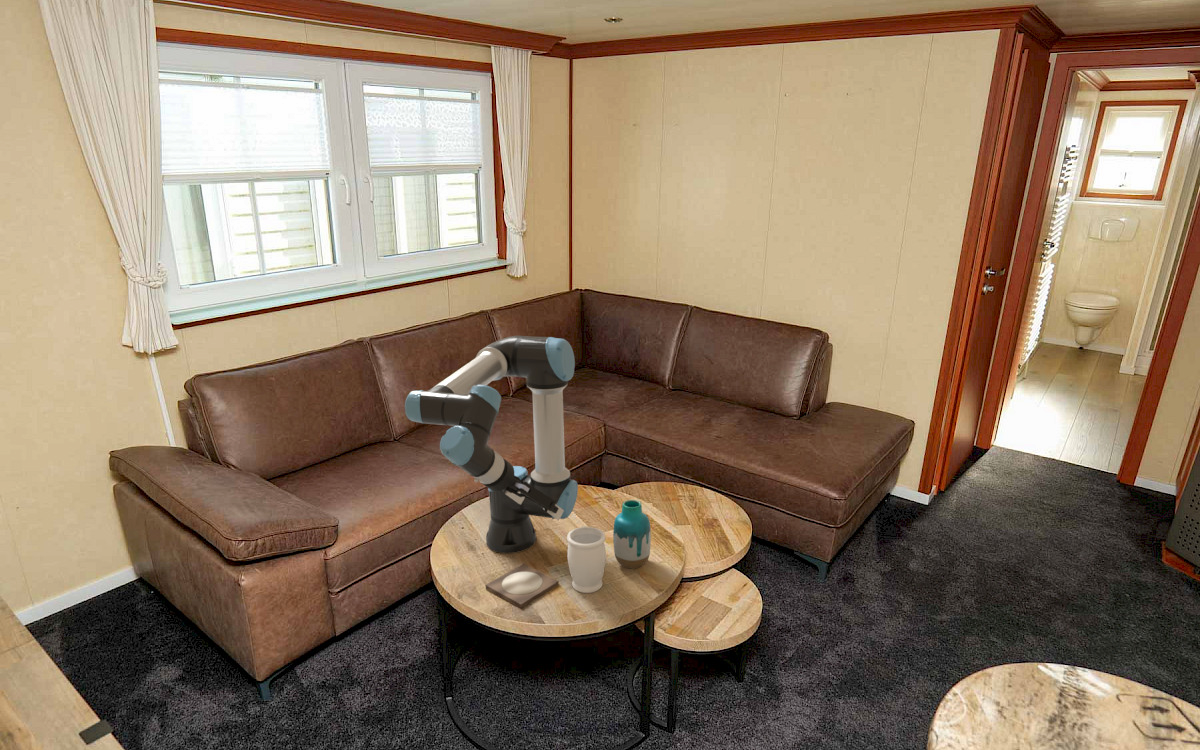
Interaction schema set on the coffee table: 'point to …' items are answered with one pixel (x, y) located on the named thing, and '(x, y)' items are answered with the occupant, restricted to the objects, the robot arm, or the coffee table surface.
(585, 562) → the jar
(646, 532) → the vase
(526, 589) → the walnut board
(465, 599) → the coffee table surface
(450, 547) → the coffee table surface
